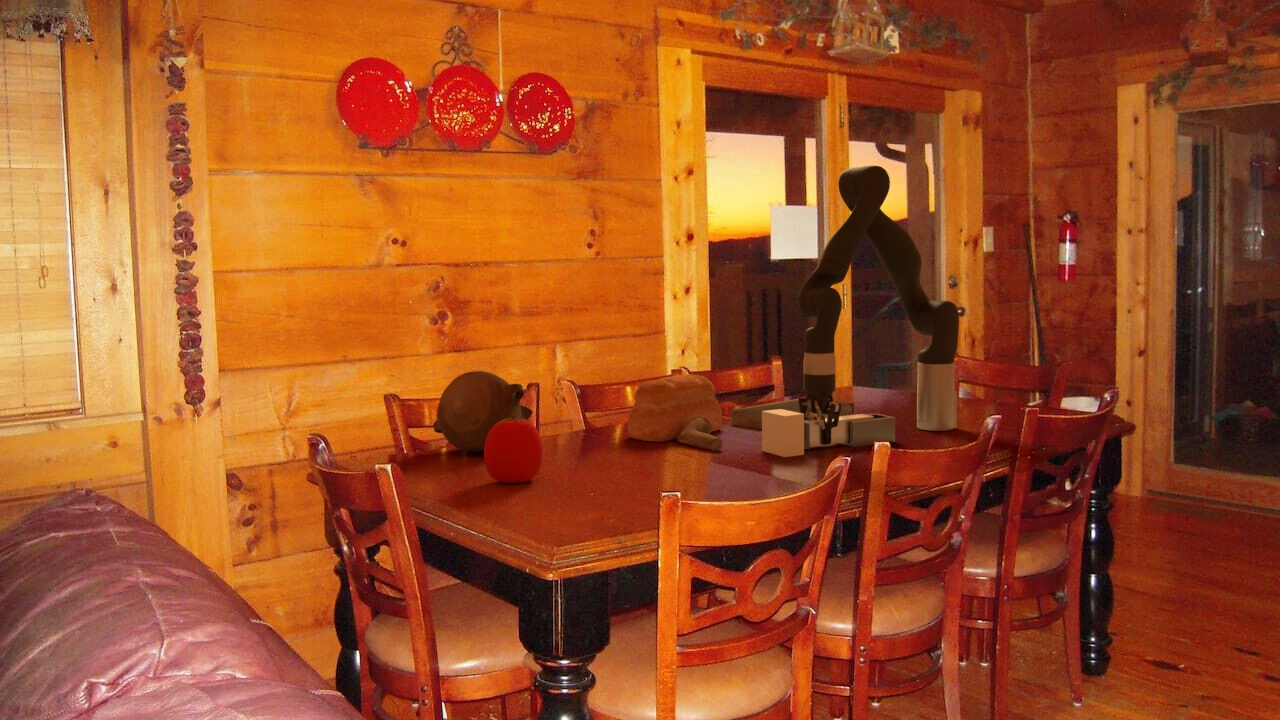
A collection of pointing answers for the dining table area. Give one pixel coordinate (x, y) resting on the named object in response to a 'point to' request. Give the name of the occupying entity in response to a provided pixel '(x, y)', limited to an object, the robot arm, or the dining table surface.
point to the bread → (672, 407)
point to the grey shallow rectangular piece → (754, 413)
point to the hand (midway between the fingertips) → (819, 442)
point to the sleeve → (871, 430)
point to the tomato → (513, 451)
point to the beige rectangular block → (837, 433)
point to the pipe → (700, 435)
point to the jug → (477, 408)
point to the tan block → (783, 432)
